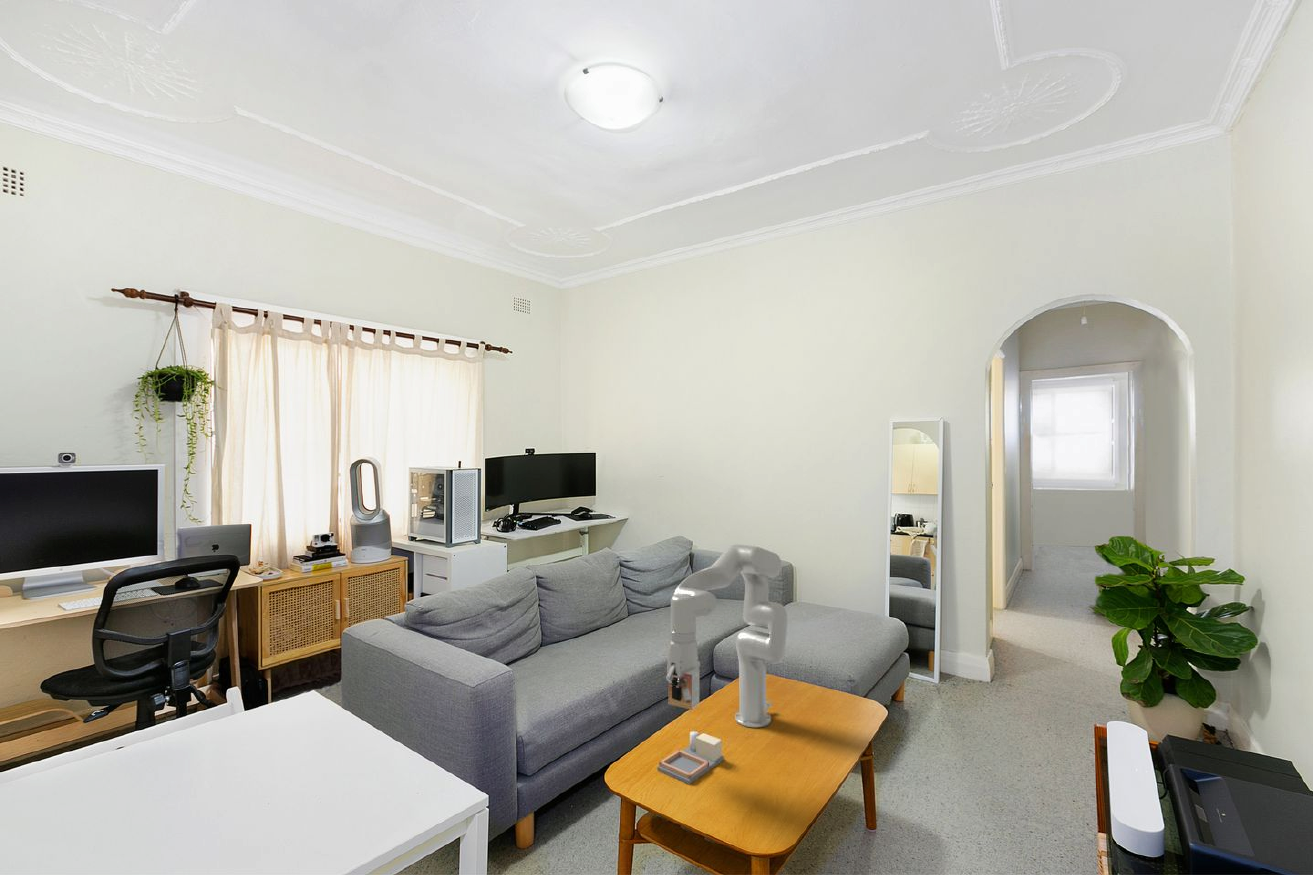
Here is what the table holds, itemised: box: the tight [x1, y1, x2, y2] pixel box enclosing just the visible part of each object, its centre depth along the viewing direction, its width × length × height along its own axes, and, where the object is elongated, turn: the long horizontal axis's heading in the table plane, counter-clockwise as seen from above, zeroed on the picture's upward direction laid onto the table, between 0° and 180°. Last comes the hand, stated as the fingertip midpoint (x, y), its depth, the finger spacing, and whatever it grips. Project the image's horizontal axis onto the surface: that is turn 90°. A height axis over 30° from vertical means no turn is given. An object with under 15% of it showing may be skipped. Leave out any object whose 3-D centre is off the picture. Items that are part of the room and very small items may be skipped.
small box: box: [668, 668, 700, 711], centre depth 179 cm, size 8×6×10 cm
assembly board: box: [657, 730, 725, 785], centre depth 181 cm, size 18×12×6 cm, turn 140°
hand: (683, 695), depth 179 cm, fingers closed on small box, 6 cm apart
